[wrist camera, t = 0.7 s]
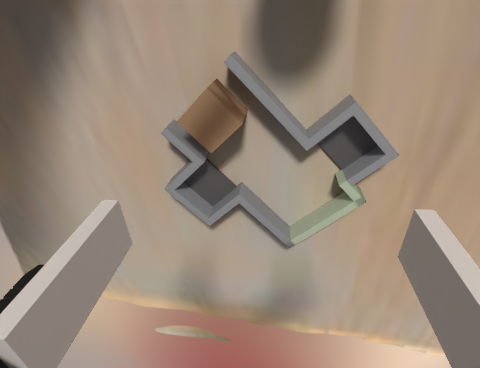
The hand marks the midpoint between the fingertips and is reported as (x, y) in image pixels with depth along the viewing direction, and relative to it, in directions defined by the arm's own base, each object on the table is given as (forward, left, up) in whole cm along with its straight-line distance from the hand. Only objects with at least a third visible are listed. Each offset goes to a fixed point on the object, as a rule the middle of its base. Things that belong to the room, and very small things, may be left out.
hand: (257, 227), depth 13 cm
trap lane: (+4, -5, -23) cm, 24 cm away
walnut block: (-4, -5, -23) cm, 24 cm away
